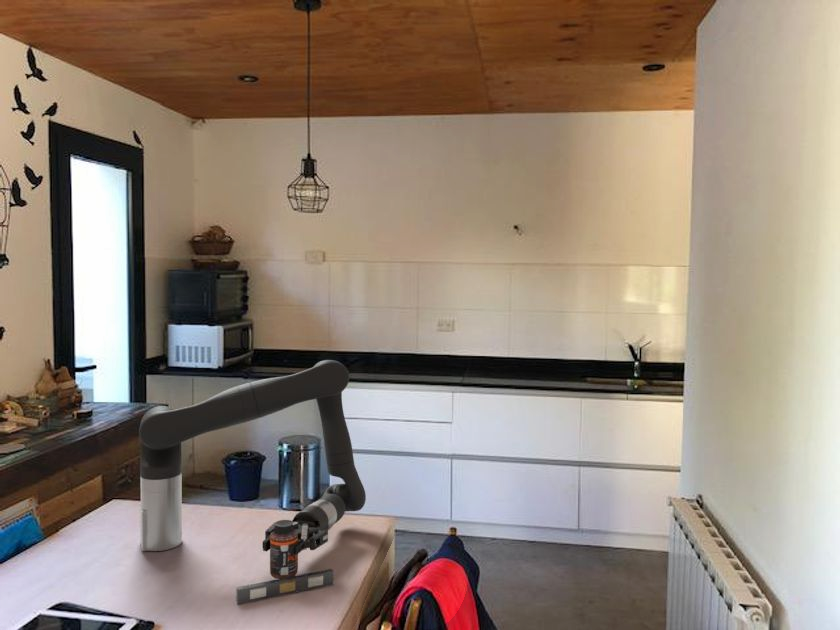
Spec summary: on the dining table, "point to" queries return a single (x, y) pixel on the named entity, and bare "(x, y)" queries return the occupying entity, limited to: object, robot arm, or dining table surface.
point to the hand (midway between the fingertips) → (278, 549)
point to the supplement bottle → (283, 550)
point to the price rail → (284, 586)
